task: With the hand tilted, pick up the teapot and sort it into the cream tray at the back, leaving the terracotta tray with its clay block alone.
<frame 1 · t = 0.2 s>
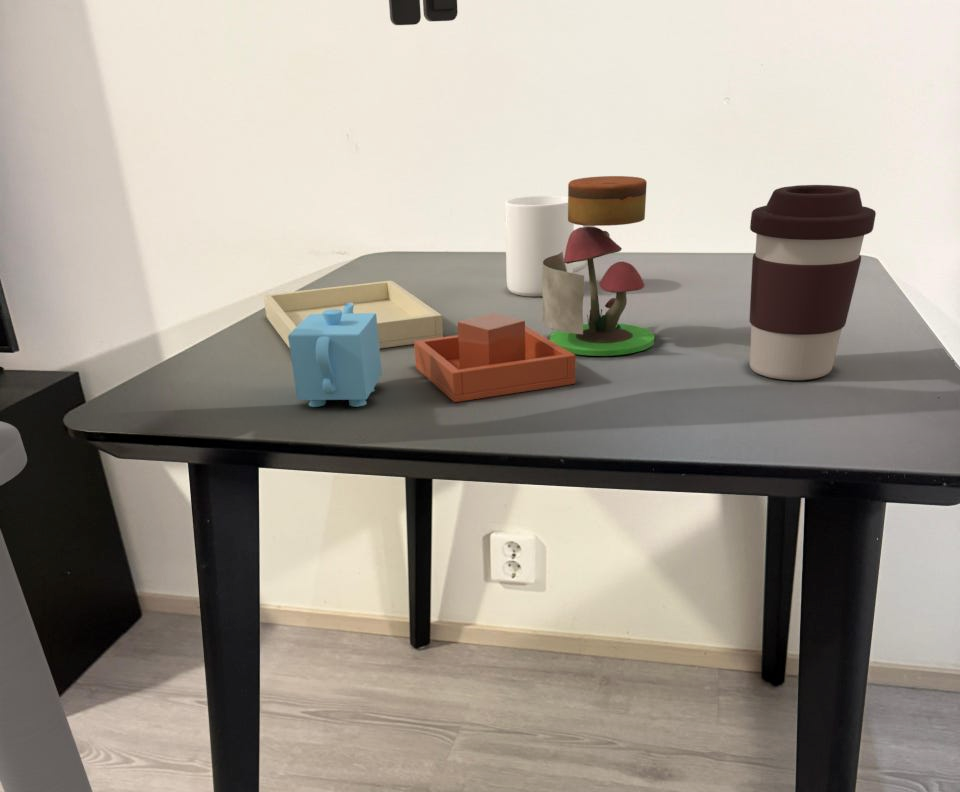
hand: (422, 23, 66), 28 cm above the table, tool pointing down, fingers open, 8 cm apart
mug: (553, 290, 117), on the table
terracotta tray: (492, 375, 86), on the table
cream tray: (350, 328, 103), on the table
teapot: (344, 396, 84), on the table
mushroom figurine: (598, 343, 95), on the table
clay block: (492, 369, 86), point 1 cm above the table, touching terracotta tray
coffee cup: (789, 372, 85), on the table
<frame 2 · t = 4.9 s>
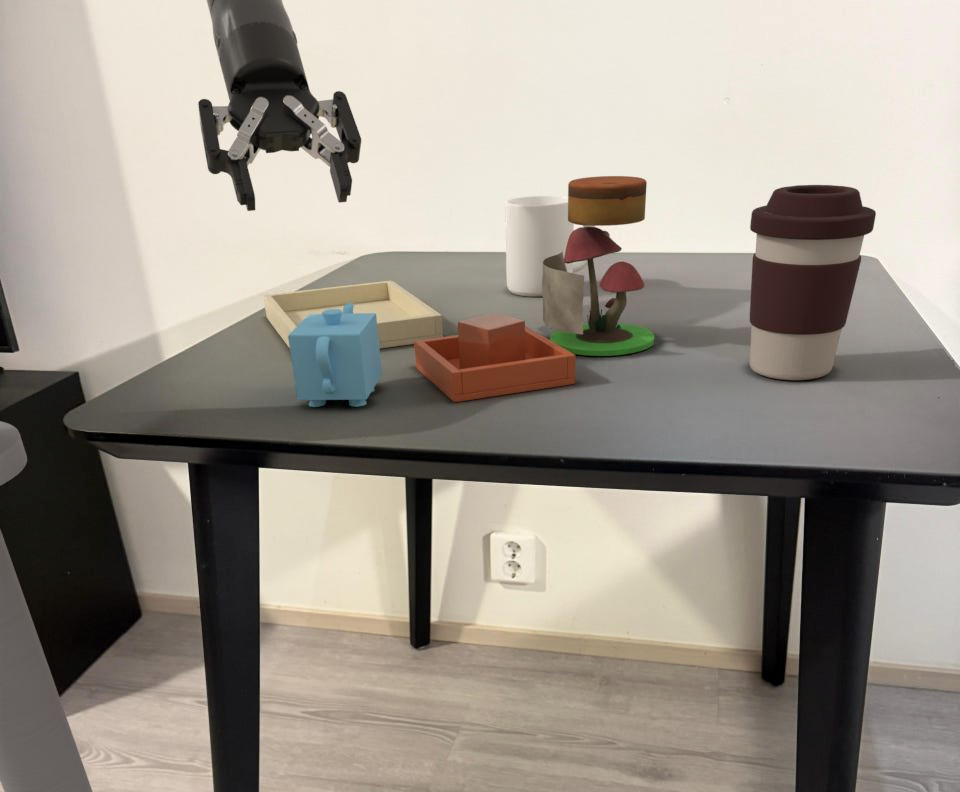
hand: (297, 200, 85), 15 cm above the table, tool tilted 45°, fingers open, 8 cm apart
nothing on the table moved.
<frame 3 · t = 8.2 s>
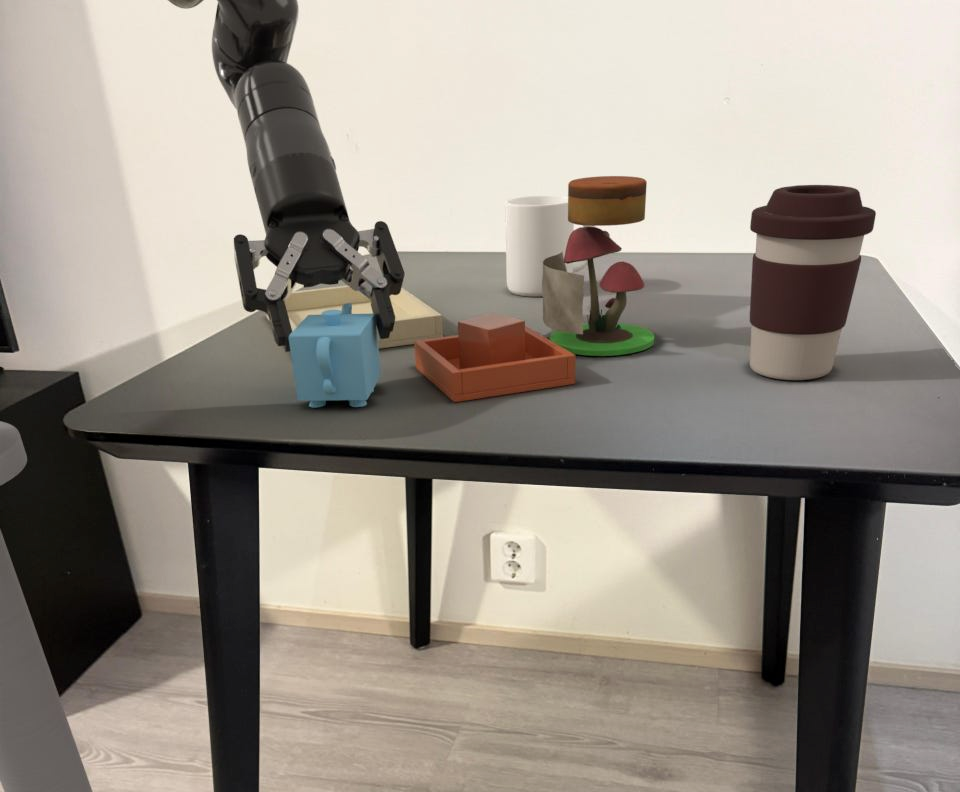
hand: (338, 340, 80), 5 cm above the table, tool tilted 45°, fingers open, 8 cm apart
teapot: (344, 396, 83), on the table, touching gripper
everything else where it was.
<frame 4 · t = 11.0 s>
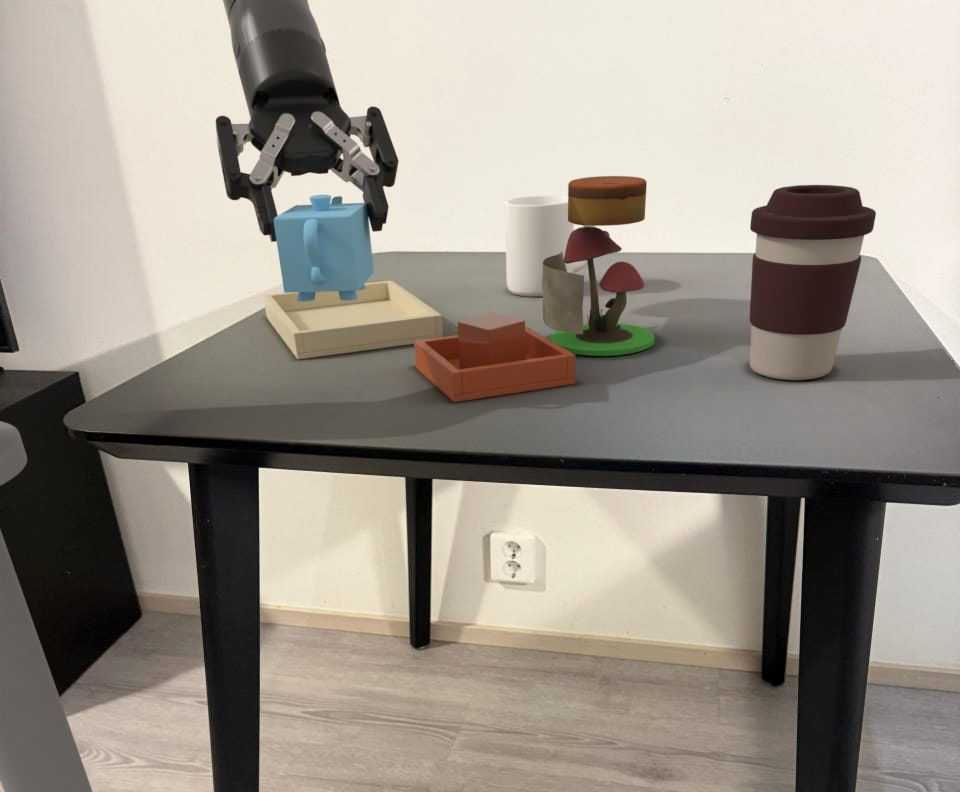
hand: (327, 230, 75), 14 cm above the table, tool tilted 45°, fingers closed on teapot, 8 cm apart
teapot: (334, 293, 78), point 9 cm above the table, touching gripper
everything else where it was.
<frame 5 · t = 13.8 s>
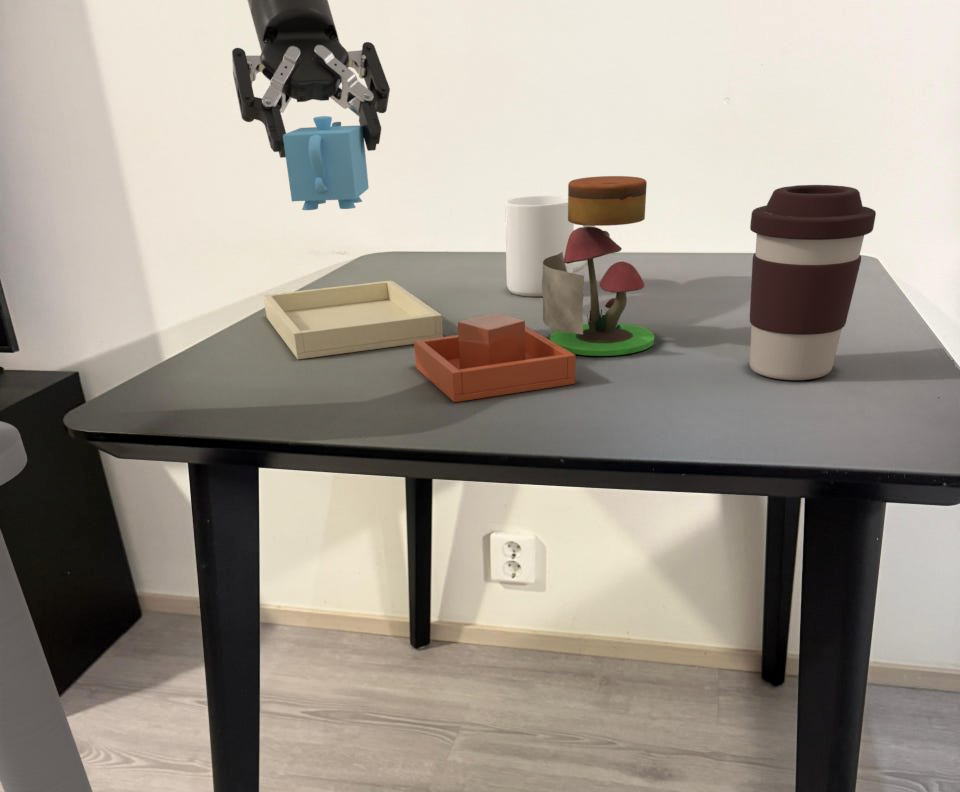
hand: (329, 147, 87), 19 cm above the table, tool tilted 45°, fingers closed on teapot, 8 cm apart
teapot: (334, 206, 90), point 13 cm above the table, touching gripper
everything else where it was.
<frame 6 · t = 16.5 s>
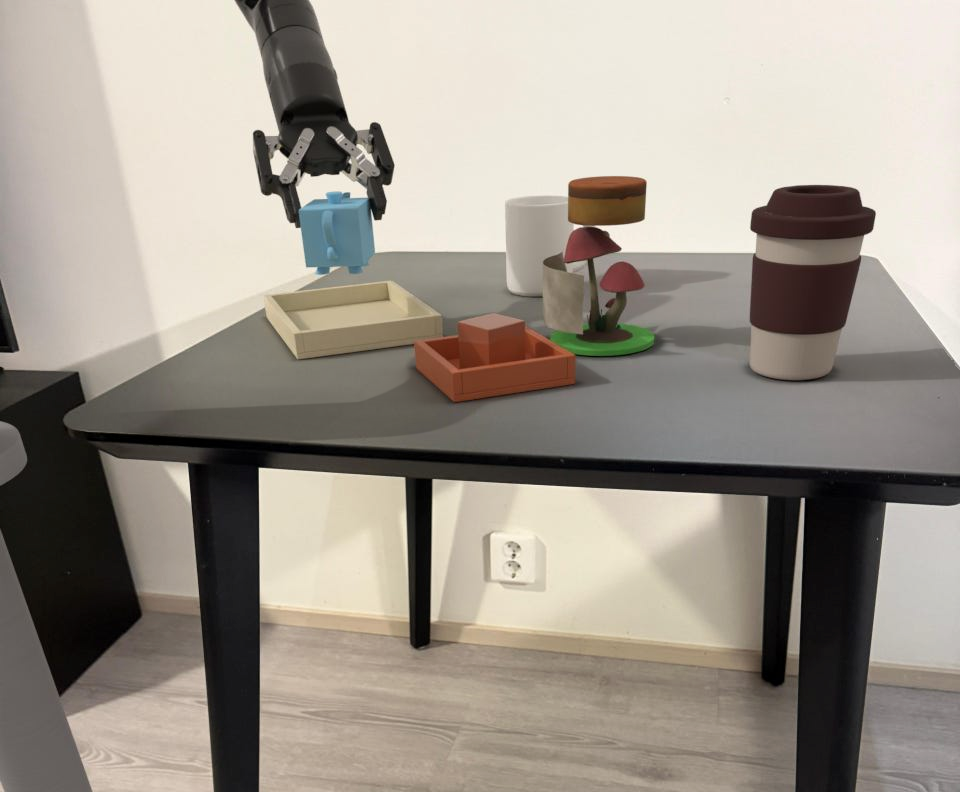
hand: (339, 219, 96), 11 cm above the table, tool tilted 45°, fingers closed on teapot, 8 cm apart
teapot: (344, 269, 100), point 6 cm above the table, touching gripper
everything else where it was.
when the fingers open (6 cm above the table, at t = 19.2 s): teapot stays where it is, resting on cream tray.
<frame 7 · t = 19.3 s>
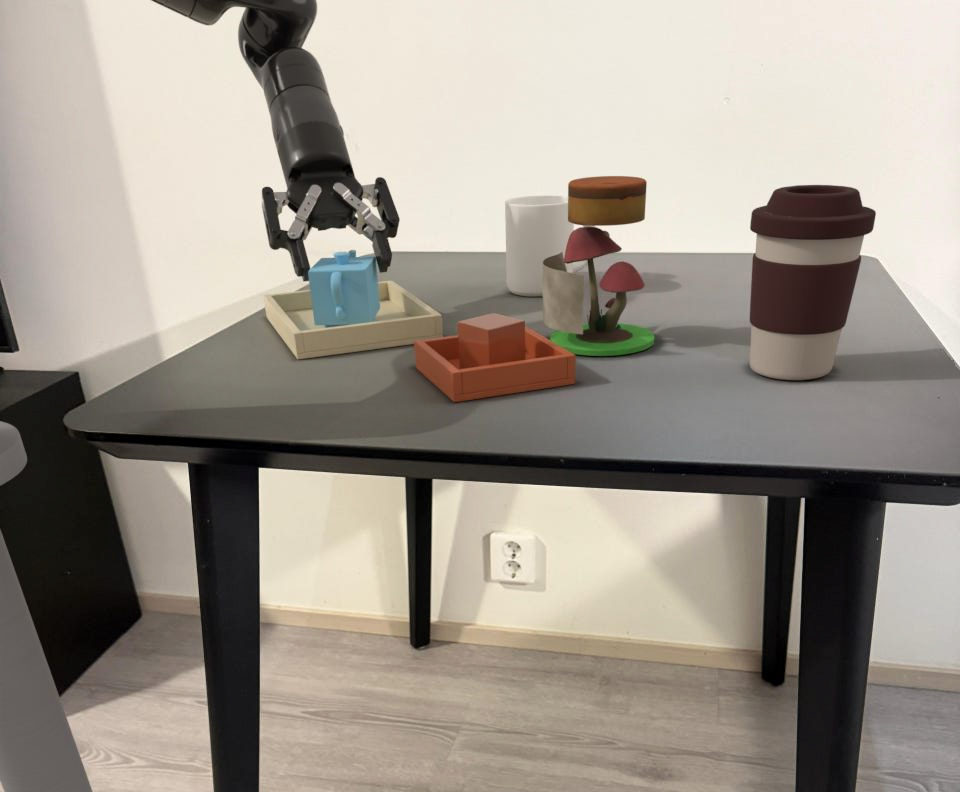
hand: (346, 272, 99), 6 cm above the table, tool tilted 45°, fingers open, 8 cm apart
teapot: (351, 324, 103), resting on cream tray, touching gripper
everything else where it was.
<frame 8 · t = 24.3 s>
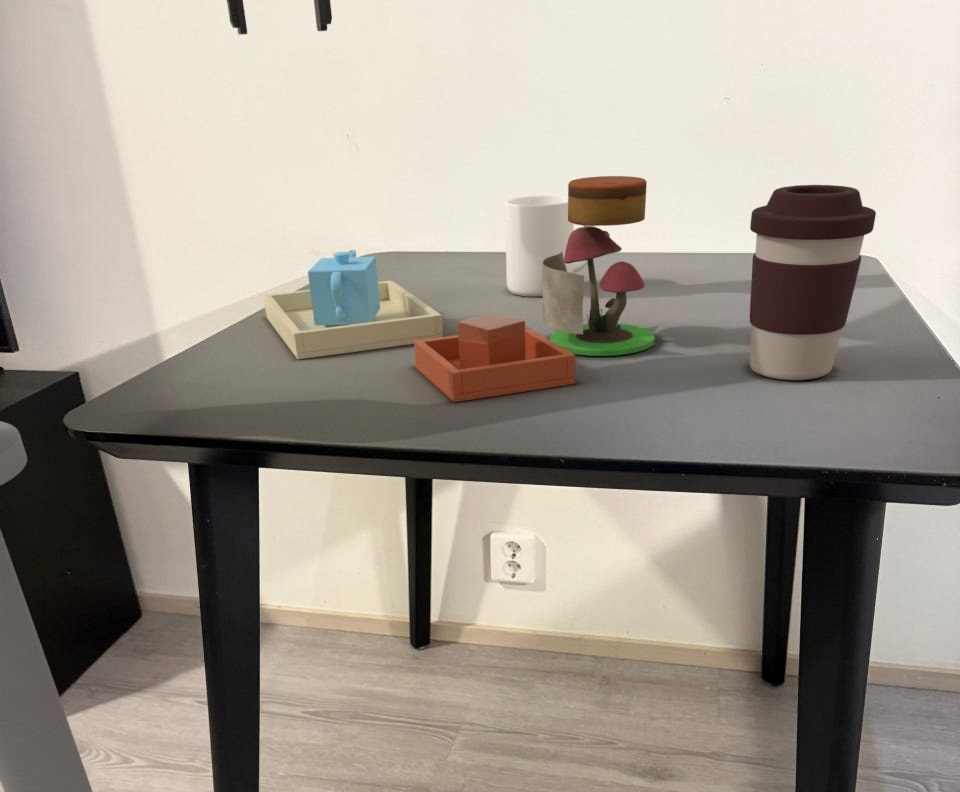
hand: (282, 32, 98), 28 cm above the table, tool pointing down, fingers open, 8 cm apart
teapot: (351, 324, 103), resting on cream tray
everything else where it was.
at the end: teapot inside the target area in the cream tray (0.2 cm from its centre), point 0.4 cm above the cream tray's base; teapot tilted 0°; clay block inside the target area in the terracotta tray (0.0 cm from its centre), point 0.6 cm above the terracotta tray's base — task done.
